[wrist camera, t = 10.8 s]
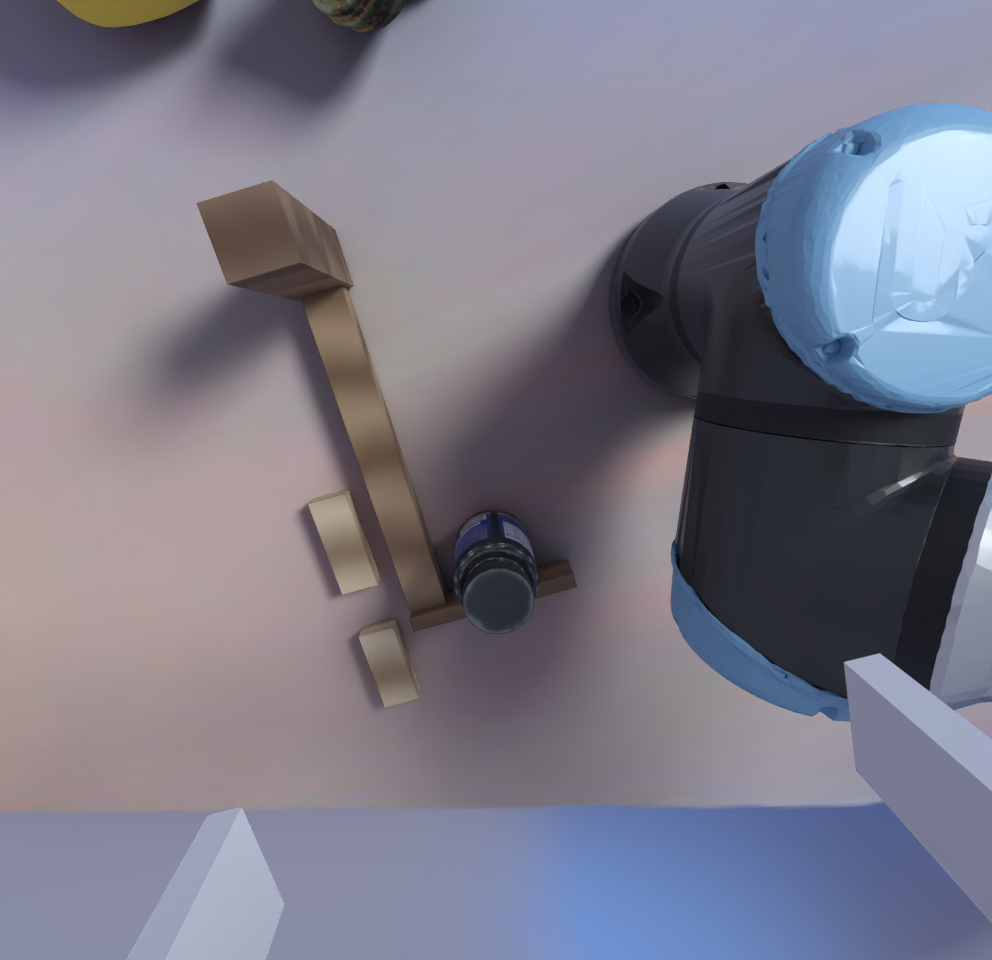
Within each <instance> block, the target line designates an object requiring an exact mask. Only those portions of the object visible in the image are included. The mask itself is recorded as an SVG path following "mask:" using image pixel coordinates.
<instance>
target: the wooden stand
mask: <svg viewBox="0 0 992 960" xmlns="http://www.w3.org/2000/svg"><path fill="white" fill-rule="evenodd" d="M197 206H198V208H199V211H200V214H201V216H202V219H203V222H204V224H205V227H206V229H207V232H208V235H209V237H210V240H211V243H212V245H213V248H214V251H215V253H216V256H217V259H218V261H219V264H220V266H221V269H222V272H223V274H224V277H225V280H226V282H227V284H229V285H233V286H237V287H242V288H246V289H250V290H255V291H259V292H263V293H268V294H272V295H276V296H281V297H285V298H290V299H294V300H298V301H302V304H303V307H304V309H305V312H306V315H307V318H308V321H309V324H310V327H311V329H312V332H313V335H314V338H315V341H316V344H317V347H318V349H319V352H320V355H321V358H322V361H323V364H324V367H325V369H326V372H327V375H328V378H329V381H330V384H331V387H332V389H333V392H334V395H335V398H336V401H337V404H338V407H339V409H340V412H341V415H342V418H343V421H344V424H345V427H346V429H347V432H348V435H349V438H350V441H351V444H352V447H353V449H354V452H355V455H356V458H357V461H358V464H359V467H360V469H361V472H362V475H363V478H364V481H365V484H366V486H367V489H368V492H369V495H370V498H371V501H372V504H373V506H374V509H375V512H376V515H377V518H378V521H379V524H380V526H381V529H382V532H383V535H384V538H385V541H386V544H387V546H388V549H389V552H390V555H391V558H392V561H393V564H394V566H395V569H396V572H397V575H398V578H399V581H400V584H401V586H402V589H403V592H404V595H405V598H406V601H407V604H408V606H409V609H410V612H411V614H410V618H409V619H410V622H411V625H412V628H413V630H414V632H415V631H419V630H422V629H426V628H430V627H433V626H437V625H440V624H444V623H448V622H451V621H455V620H459V619H462V618H466V617H467V616H466V614H465V612H464V609H463V607H462V605H461V604H460V603H459V602H458V599H457V598H456V595H455V592H454V591H451V592H447V590H446V587H445V584H444V581H443V578H442V575H441V572H440V569H439V566H438V563H437V559H436V556H435V553H434V550H433V547H432V544H431V541H430V538H429V535H428V532H427V529H426V526H425V523H424V520H423V517H422V514H421V511H420V508H419V505H418V502H417V499H416V496H415V493H414V490H413V487H412V484H411V481H410V478H409V475H408V472H407V468H406V465H405V462H404V459H403V456H402V453H401V450H400V447H399V444H398V441H397V438H396V435H395V432H394V429H393V426H392V423H391V420H390V417H389V414H388V411H387V408H386V405H385V402H384V399H383V396H382V393H381V390H380V387H379V384H378V380H377V377H376V374H375V371H374V368H373V365H372V362H371V359H370V356H369V353H368V350H367V347H366V344H365V341H364V338H363V335H362V332H361V329H360V326H359V323H358V320H357V317H356V314H355V311H354V308H353V305H352V302H351V299H350V296H349V292H348V289H347V288H349V287H352V286H353V283H352V280H351V277H350V274H349V271H348V268H347V265H346V262H345V259H344V256H343V252H342V249H341V246H340V243H339V240H338V237H337V234H336V231H335V229H333V228H332V227H331V226H330V225H328V224H327V223H326V222H325V221H323V220H322V219H321V218H319V217H318V216H317V215H316V214H314V213H313V212H312V211H311V210H309V209H308V208H307V207H306V206H304V205H303V204H302V203H300V202H299V201H298V200H297V199H295V198H294V197H293V196H292V195H290V194H289V193H288V192H287V191H285V190H284V189H283V188H282V187H280V186H279V185H278V184H276V183H275V182H274V181H273V180H271V181H268V182H265V183H261V184H258V185H255V186H252V187H248V188H245V189H242V190H238V191H235V192H232V193H229V194H225V195H222V196H219V197H215V198H212V199H209V200H206V201H202V202H199V203H197ZM538 572H539V580H540V581H539V588H538V592H537V595H536V597H535V598H539V597H542V596H546V595H550V594H553V593H557V592H561V591H564V590H568V589H571V588H575V587H577V585H576V582H575V578H574V574H573V572H572V569H571V567H570V564H569V562H568V560H563V561H559V562H556V563H552V564H548V565H545V566H541V567H538Z"/></svg>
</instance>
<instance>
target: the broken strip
mask: <svg viewBox="0 0 992 960" xmlns="http://www.w3.org/2000/svg"><path fill="white" fill-rule="evenodd" d="M308 506H309V508H310V511H311V514H312V516H313V519H314V522H315V524H316V527H317V529H318V532H319V535H320V537H321V540H322V543H323V545H324V548H325V551H326V553H327V556H328V558H329V561H330V564H331V566H332V569H333V572H334V574H335V577H336V580H337V582H338V585H339V587H340V590H341V593H342V595H344V594H347V593H351V592H354V591H358V590H362V589H365V588H369V587H372V586H376V585H378V582H379V580H380V578H381V577H380V574H379V571H378V568H377V566H376V563H375V560H374V557H373V554H372V552H371V549H370V546H369V543H368V540H367V538H366V535H365V532H364V529H363V527H362V524H361V521H360V518H359V515H358V513H357V510H356V507H355V504H354V501H353V499H352V496H351V493H350V490H349V489H347V490H343V491H340V492H336V493H333V494H329V495H325V496H322V497H318V498H315V499H313V500H312V501H311V502H310V503H309V504H308ZM359 640H360V643H361V645H362V648H363V651H364V653H365V656H366V659H367V661H368V664H369V666H370V669H371V672H372V674H373V677H374V680H375V682H376V685H377V687H378V690H379V693H380V695H381V698H382V701H383V703H384V706H385V708H386V707H390V706H393V705H397V704H401V703H404V702H408V701H412V700H416V699H419V693H420V685H419V683H418V680H417V677H416V674H415V672H414V669H413V666H412V663H411V660H410V658H409V655H408V652H407V649H406V646H405V644H404V641H403V638H402V635H401V632H400V630H399V627H398V624H397V621H396V619H393V620H389V621H385V622H382V623H378V624H375V625H371V626H367V627H364V628H362V630H361V632H360V635H359Z"/></svg>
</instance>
